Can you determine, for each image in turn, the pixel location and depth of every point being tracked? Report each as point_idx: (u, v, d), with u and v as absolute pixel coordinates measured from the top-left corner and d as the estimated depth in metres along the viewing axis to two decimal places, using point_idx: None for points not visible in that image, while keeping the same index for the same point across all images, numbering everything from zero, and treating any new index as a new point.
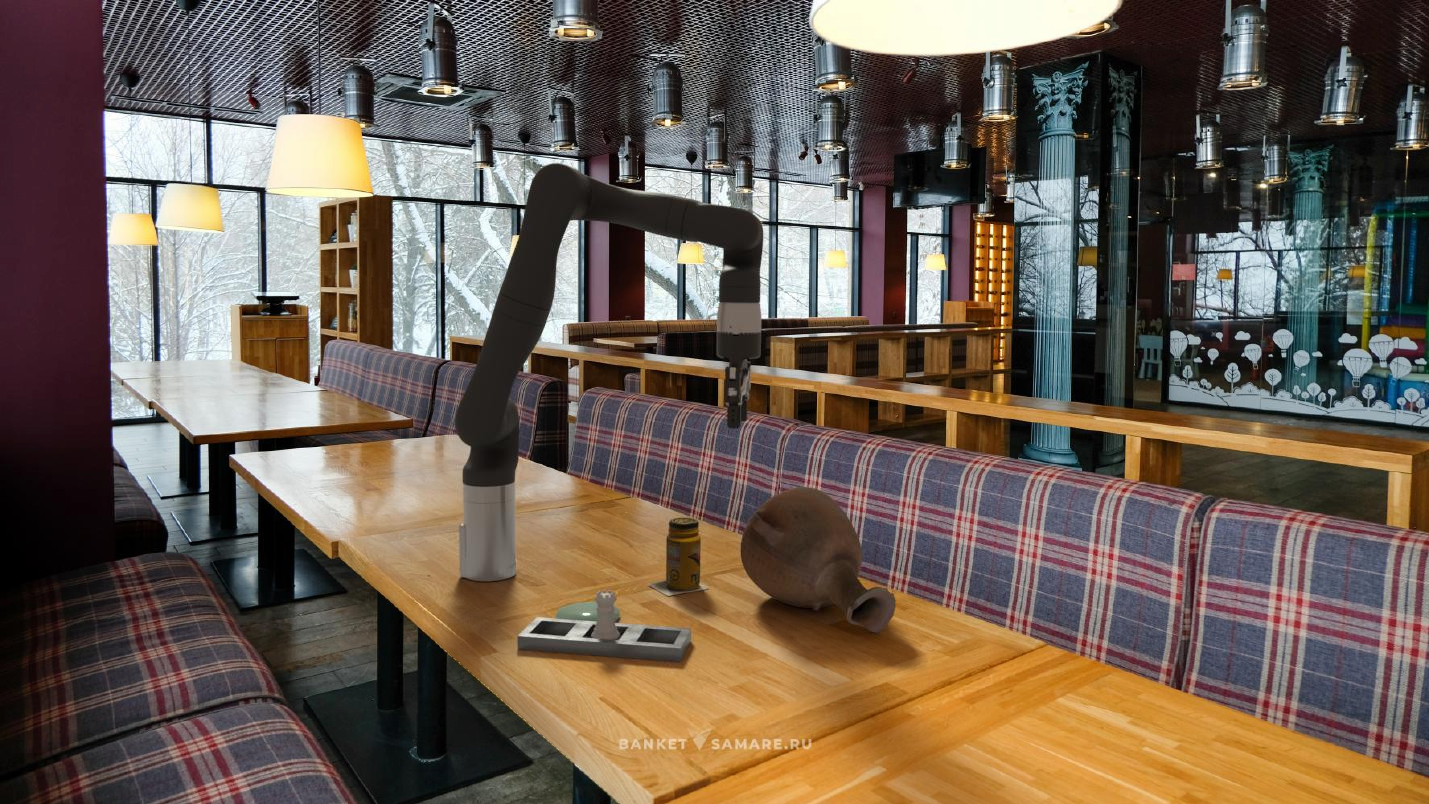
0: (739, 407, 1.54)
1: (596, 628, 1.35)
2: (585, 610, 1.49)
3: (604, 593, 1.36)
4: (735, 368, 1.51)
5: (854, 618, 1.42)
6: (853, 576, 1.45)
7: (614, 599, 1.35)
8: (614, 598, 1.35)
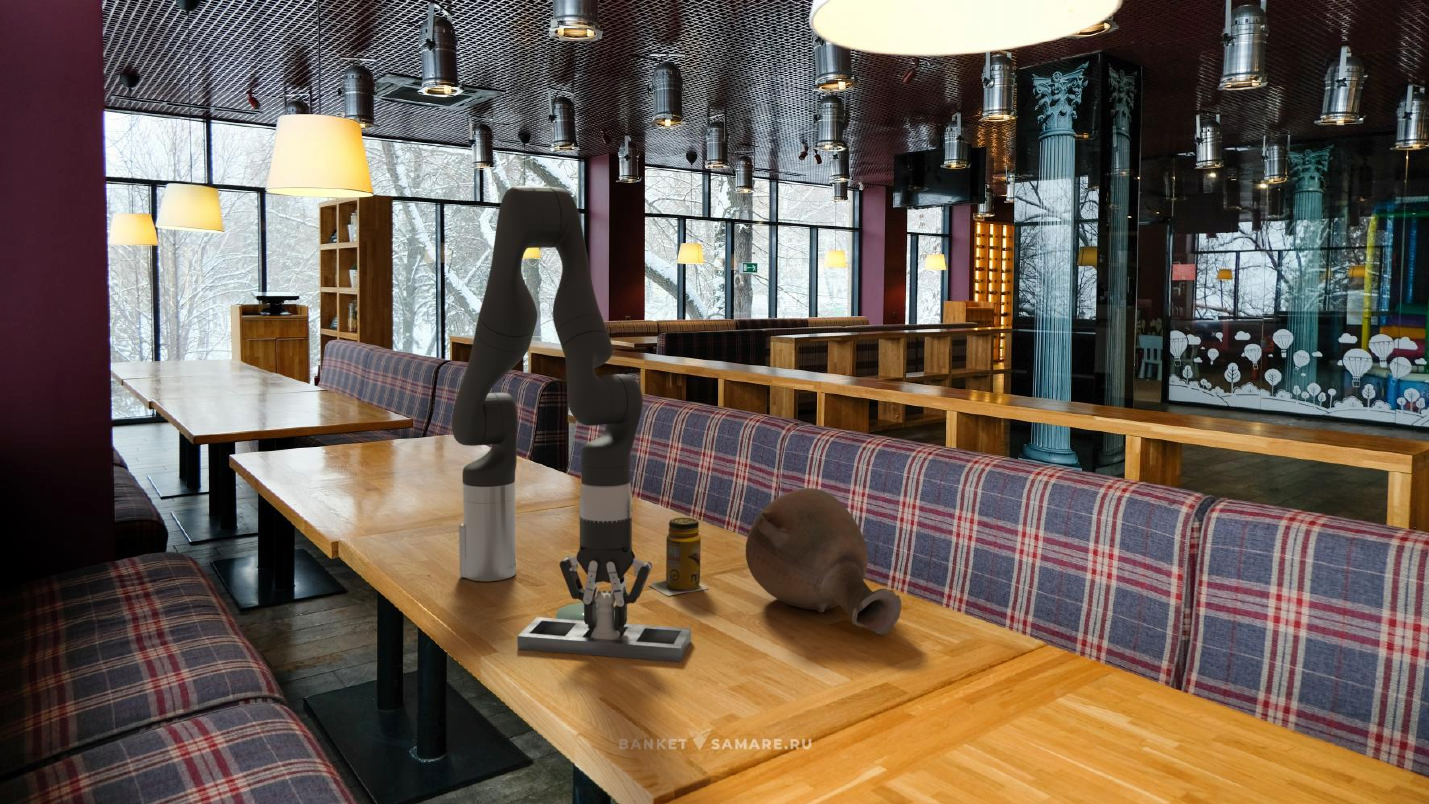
0: None
1: (596, 628, 1.35)
2: None
3: (604, 593, 1.36)
4: (650, 566, 1.34)
5: (859, 620, 1.42)
6: (859, 578, 1.44)
7: (614, 599, 1.35)
8: (614, 598, 1.35)
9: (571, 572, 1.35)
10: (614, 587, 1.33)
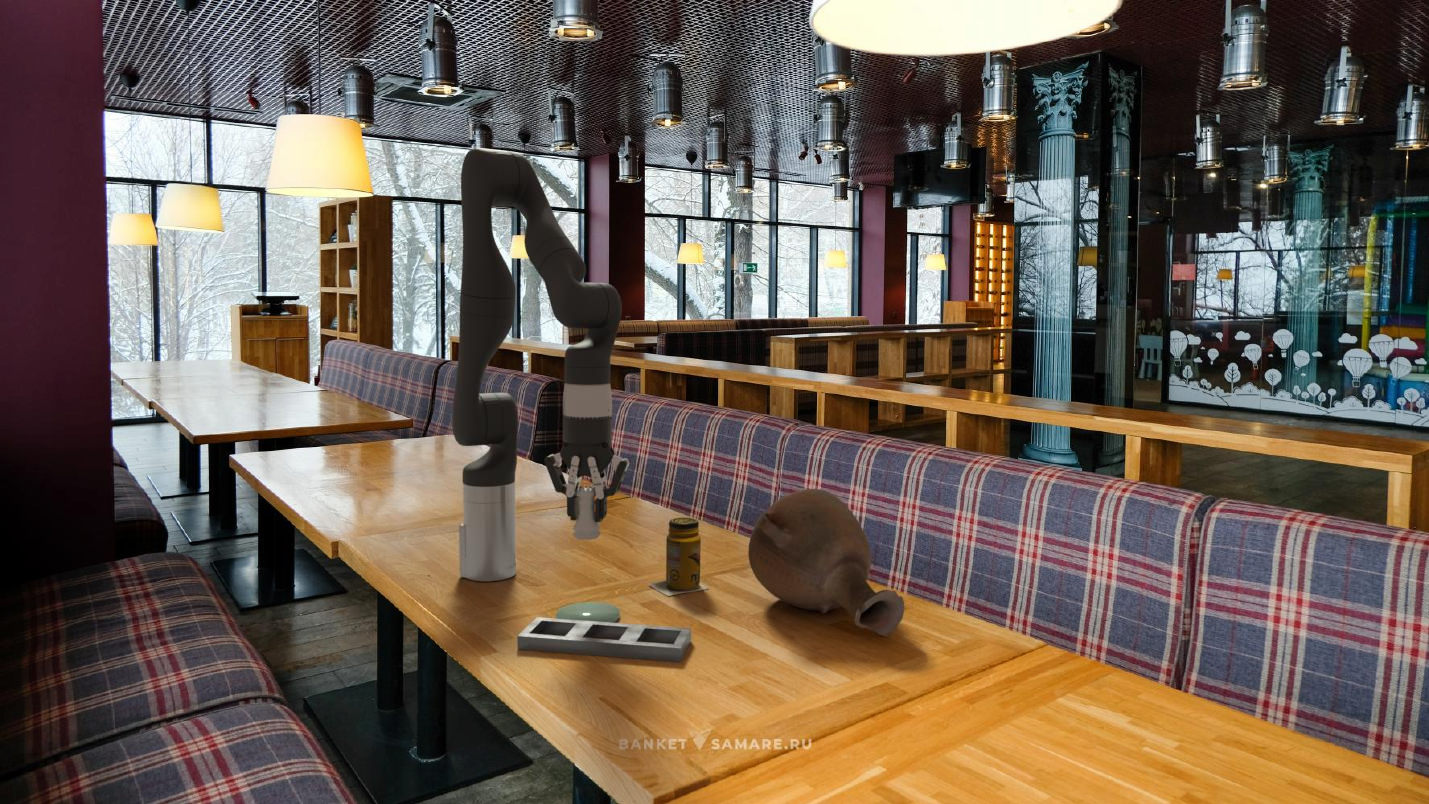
0: None
1: (578, 519, 1.46)
2: (585, 610, 1.49)
3: (586, 488, 1.46)
4: (628, 461, 1.45)
5: (862, 621, 1.41)
6: (862, 579, 1.44)
7: (595, 492, 1.45)
8: (595, 492, 1.45)
9: (555, 467, 1.45)
10: (595, 480, 1.44)
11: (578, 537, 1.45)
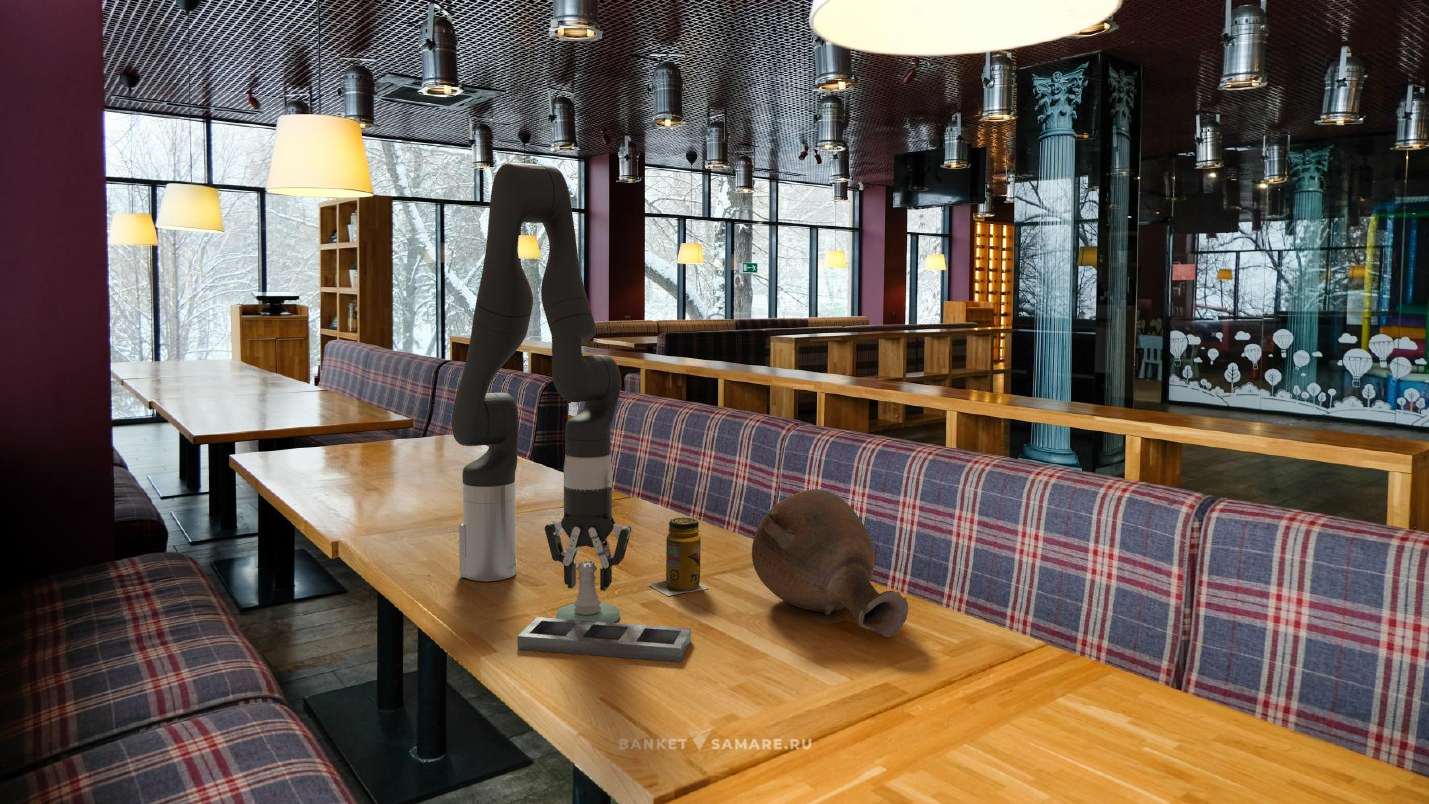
0: None
1: (578, 595, 1.47)
2: None
3: (585, 563, 1.48)
4: (629, 529, 1.46)
5: (866, 622, 1.41)
6: (865, 580, 1.43)
7: (594, 568, 1.47)
8: (594, 567, 1.47)
9: (554, 536, 1.47)
10: (598, 550, 1.45)
11: (579, 613, 1.46)
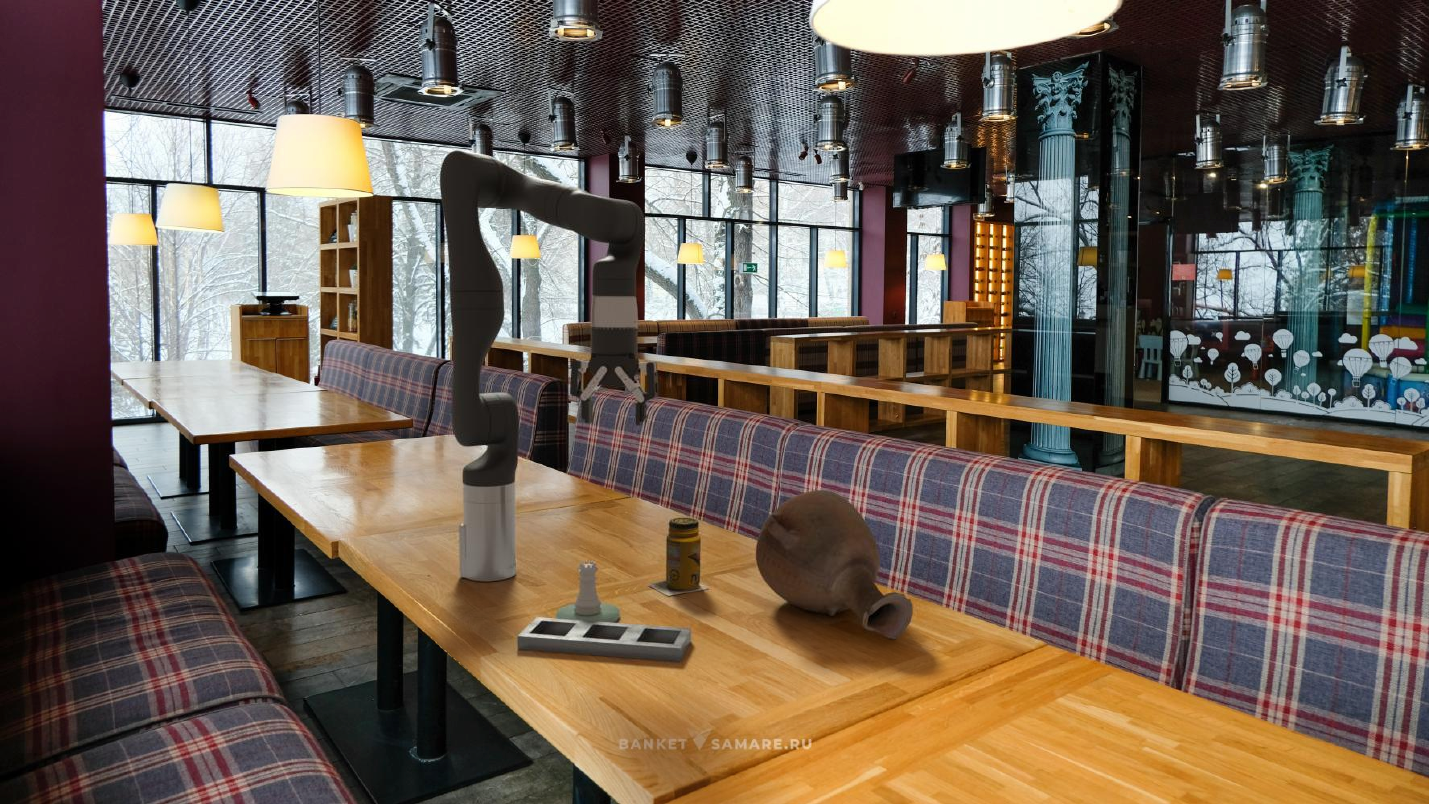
0: None
1: (579, 596, 1.47)
2: None
3: (586, 564, 1.48)
4: (654, 362, 1.50)
5: (870, 624, 1.40)
6: (870, 581, 1.43)
7: (595, 569, 1.47)
8: (595, 568, 1.47)
9: (578, 372, 1.51)
10: (630, 387, 1.49)
11: (579, 613, 1.46)
